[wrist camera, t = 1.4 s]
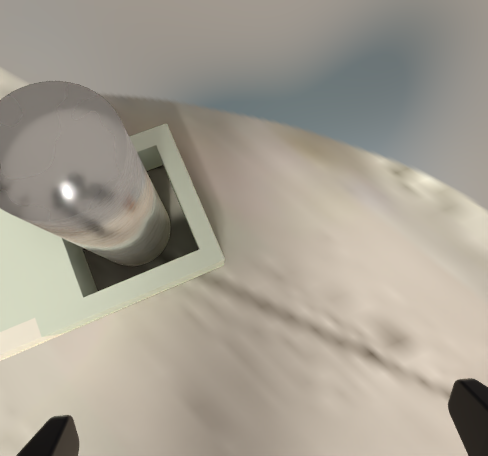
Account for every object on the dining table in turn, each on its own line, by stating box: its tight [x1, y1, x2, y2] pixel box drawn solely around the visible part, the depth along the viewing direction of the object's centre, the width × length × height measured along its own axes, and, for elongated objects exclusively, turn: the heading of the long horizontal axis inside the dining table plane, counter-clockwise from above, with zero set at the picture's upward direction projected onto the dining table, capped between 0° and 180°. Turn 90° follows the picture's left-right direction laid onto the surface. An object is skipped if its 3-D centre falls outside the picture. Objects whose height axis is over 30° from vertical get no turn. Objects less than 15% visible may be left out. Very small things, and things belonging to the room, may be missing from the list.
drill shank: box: [0, 81, 171, 266], centre depth 17 cm, size 4×4×12 cm
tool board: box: [0, 123, 225, 361], centre depth 21 cm, size 19×8×3 cm, turn 114°
